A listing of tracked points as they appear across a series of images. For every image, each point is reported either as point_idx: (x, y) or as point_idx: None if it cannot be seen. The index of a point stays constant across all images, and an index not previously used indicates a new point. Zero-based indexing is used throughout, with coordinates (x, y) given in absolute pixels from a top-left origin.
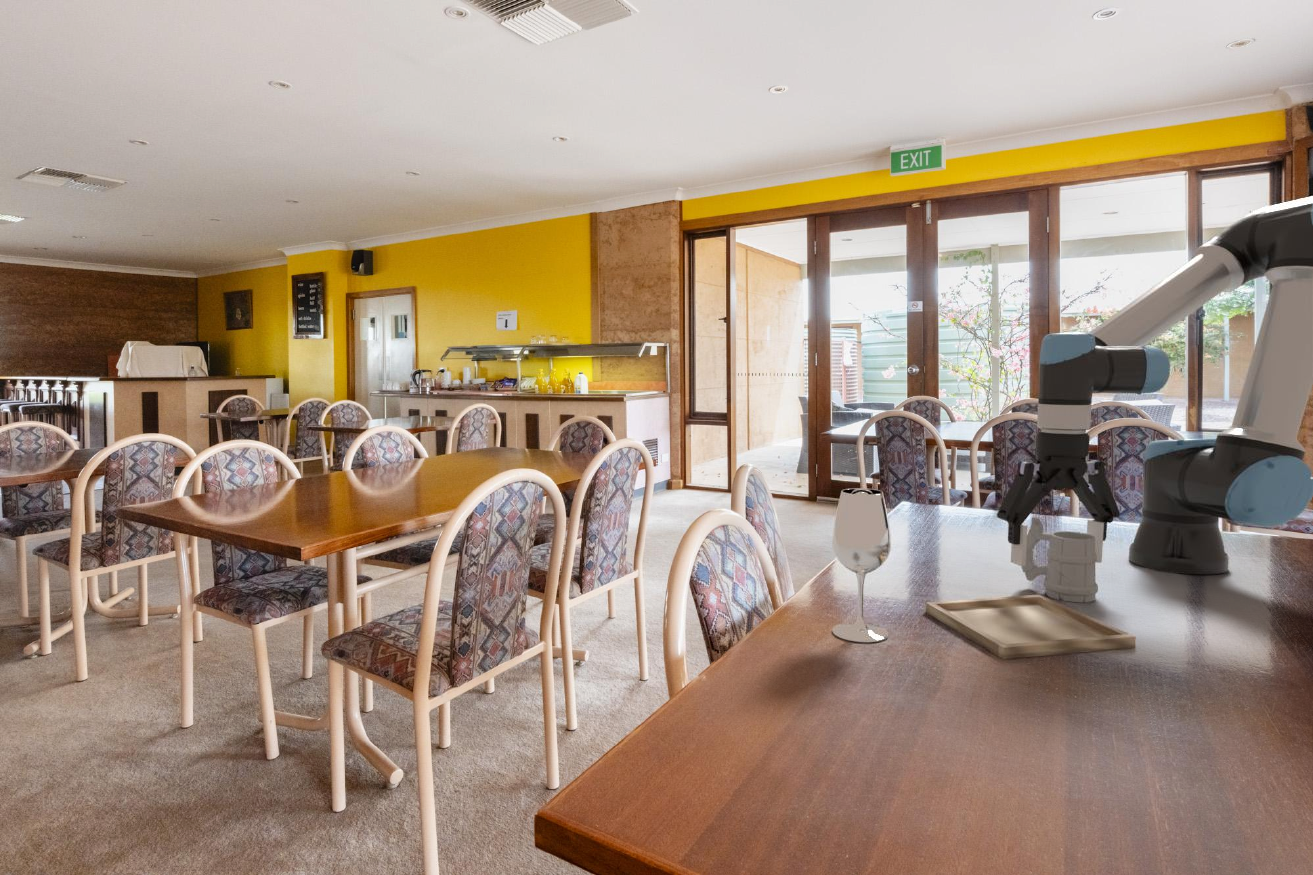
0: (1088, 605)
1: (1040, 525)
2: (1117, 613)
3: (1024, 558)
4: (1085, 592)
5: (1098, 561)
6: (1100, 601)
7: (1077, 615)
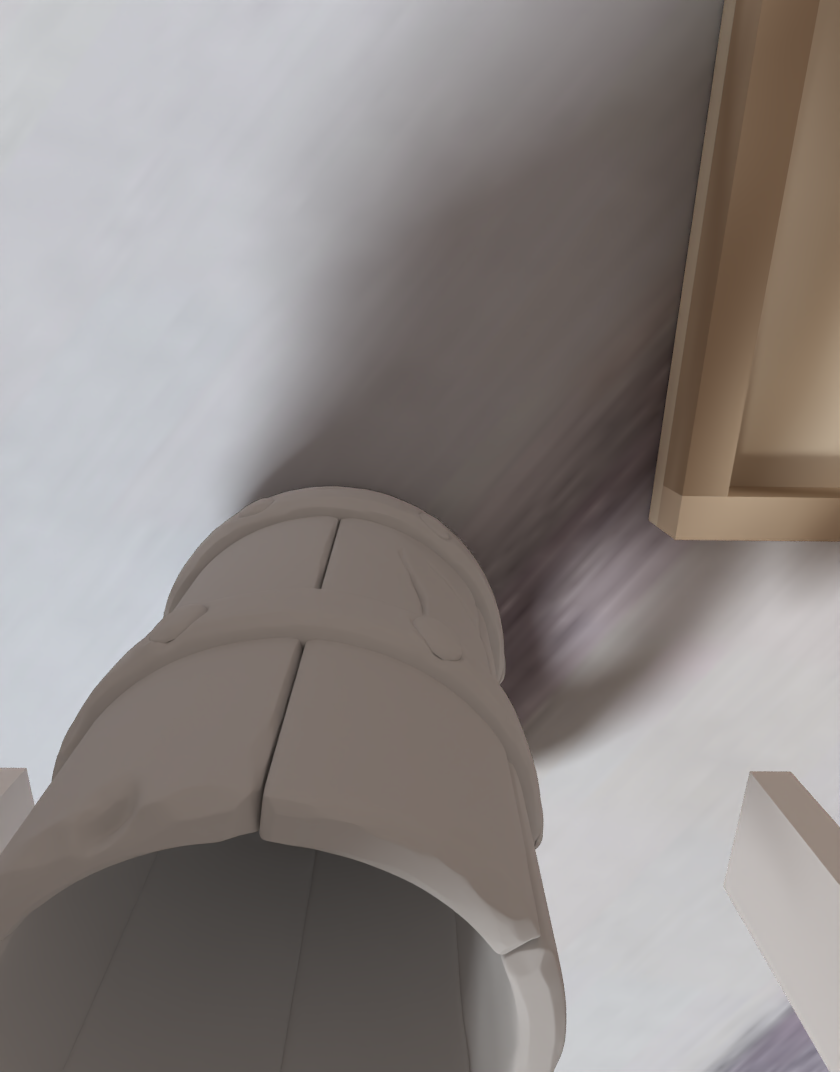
0: (366, 428)
1: None
2: (297, 222)
3: (804, 825)
4: (350, 491)
5: (10, 775)
6: (230, 483)
7: (808, 23)
